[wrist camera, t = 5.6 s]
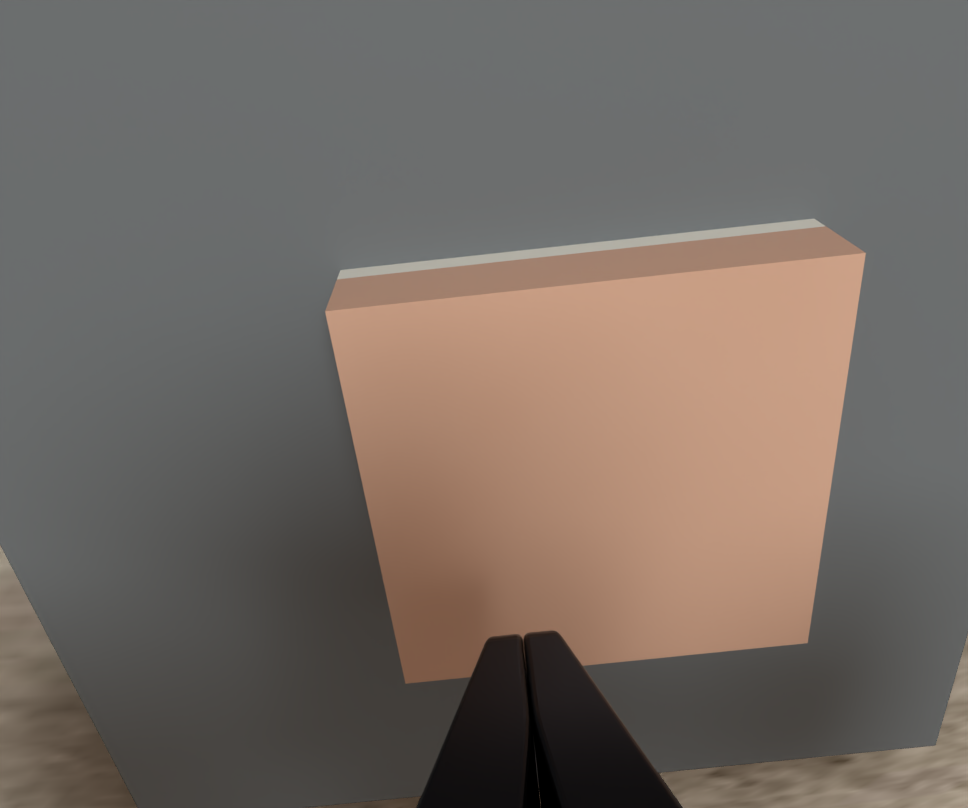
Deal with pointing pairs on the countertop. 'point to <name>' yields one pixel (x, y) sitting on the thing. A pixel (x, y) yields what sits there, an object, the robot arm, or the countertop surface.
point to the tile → (600, 439)
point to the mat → (422, 237)
